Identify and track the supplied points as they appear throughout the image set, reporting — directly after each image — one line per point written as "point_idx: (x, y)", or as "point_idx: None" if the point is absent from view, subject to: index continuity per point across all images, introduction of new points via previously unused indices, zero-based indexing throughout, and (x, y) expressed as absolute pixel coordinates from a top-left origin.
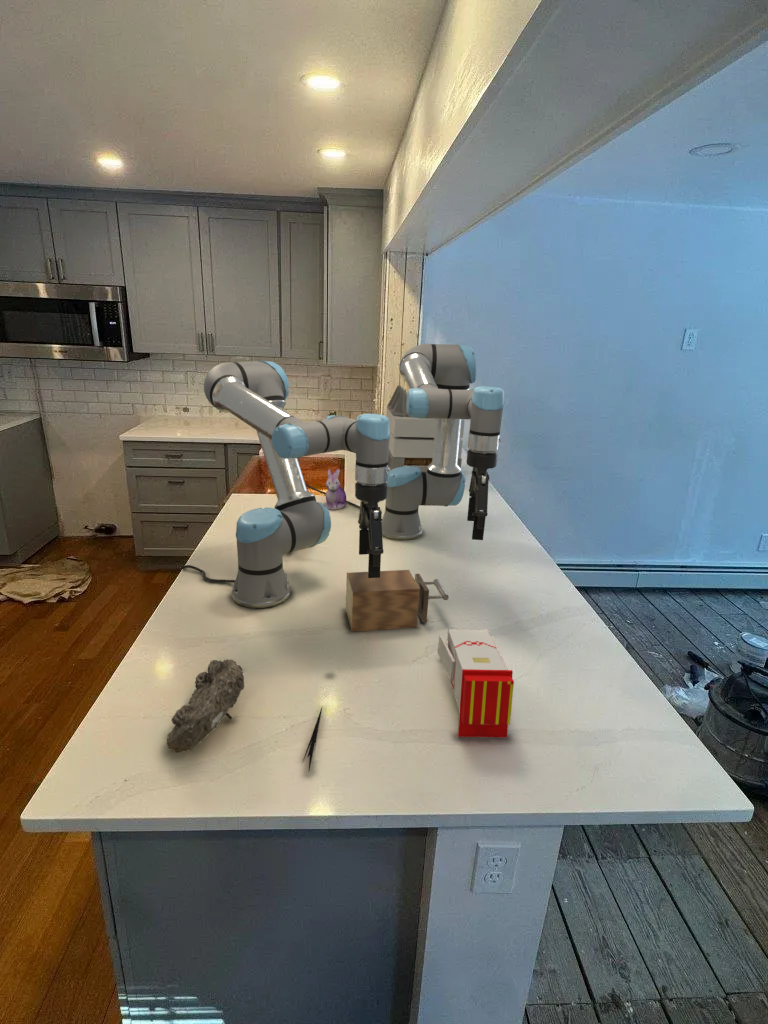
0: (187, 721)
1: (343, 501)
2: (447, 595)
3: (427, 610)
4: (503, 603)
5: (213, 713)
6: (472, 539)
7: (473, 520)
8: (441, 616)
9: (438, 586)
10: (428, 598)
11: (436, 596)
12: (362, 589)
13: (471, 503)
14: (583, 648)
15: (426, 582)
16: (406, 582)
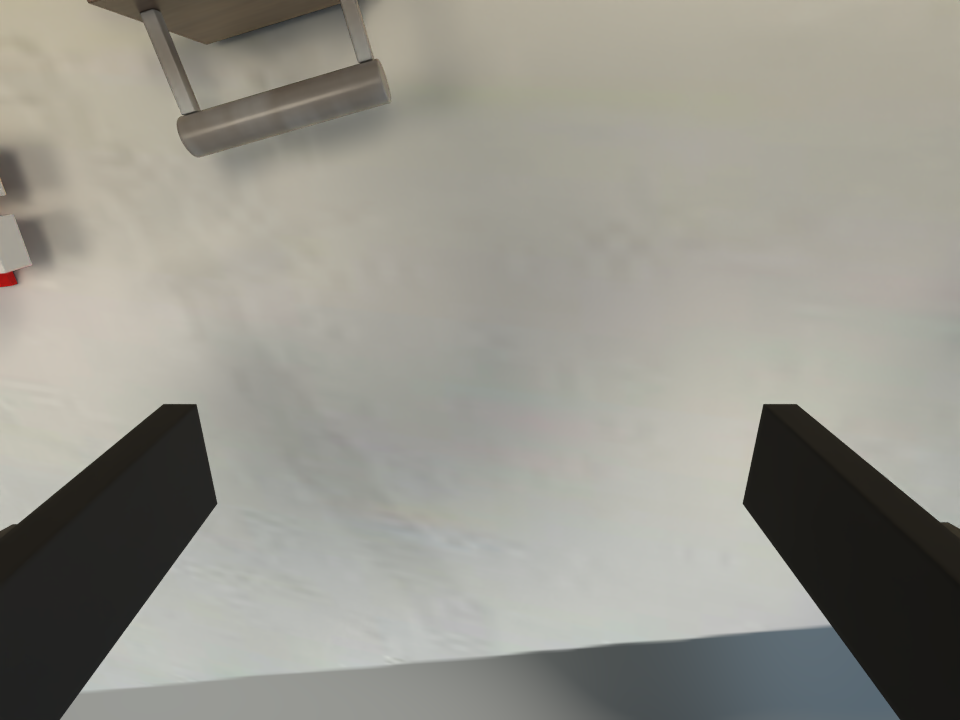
0: None
1: None
2: (186, 146)
3: (171, 31)
4: (485, 416)
5: None
6: (161, 408)
7: (753, 471)
8: (318, 131)
9: (288, 91)
10: (127, 16)
11: (166, 73)
12: None
13: (923, 597)
14: (225, 602)
15: (346, 5)
16: None
